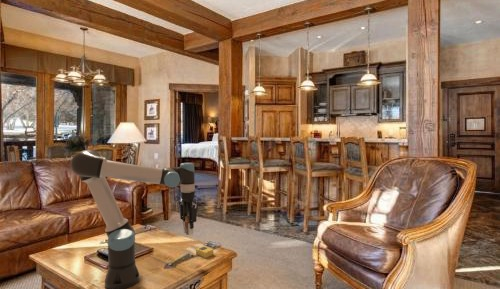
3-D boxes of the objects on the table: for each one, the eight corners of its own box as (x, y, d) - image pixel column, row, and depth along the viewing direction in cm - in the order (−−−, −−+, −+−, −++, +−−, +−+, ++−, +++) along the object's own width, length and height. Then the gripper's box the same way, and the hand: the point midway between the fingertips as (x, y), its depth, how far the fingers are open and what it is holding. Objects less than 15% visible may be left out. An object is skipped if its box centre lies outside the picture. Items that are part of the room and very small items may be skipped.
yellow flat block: (205, 257, 169) (205, 252, 169) (195, 254, 174) (195, 248, 174) (213, 254, 173) (213, 248, 173) (203, 250, 178) (203, 245, 178)
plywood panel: (201, 260, 168) (201, 258, 168) (180, 252, 179) (180, 250, 179) (219, 252, 179) (219, 250, 179) (199, 245, 190) (199, 243, 190)
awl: (188, 235, 167) (187, 217, 166) (184, 234, 169) (183, 216, 168) (192, 233, 169) (192, 215, 169) (188, 232, 171) (188, 214, 171)
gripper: (203, 192, 165) (203, 234, 167) (183, 188, 176) (184, 228, 177) (192, 194, 160) (192, 238, 161) (172, 190, 170) (173, 232, 171)
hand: (188, 233), depth 169 cm, fingers closed on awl, 3 cm apart
